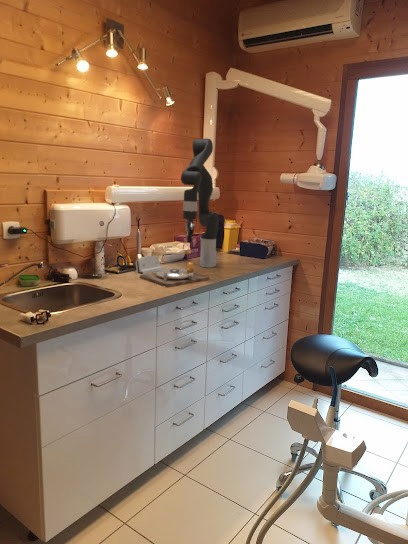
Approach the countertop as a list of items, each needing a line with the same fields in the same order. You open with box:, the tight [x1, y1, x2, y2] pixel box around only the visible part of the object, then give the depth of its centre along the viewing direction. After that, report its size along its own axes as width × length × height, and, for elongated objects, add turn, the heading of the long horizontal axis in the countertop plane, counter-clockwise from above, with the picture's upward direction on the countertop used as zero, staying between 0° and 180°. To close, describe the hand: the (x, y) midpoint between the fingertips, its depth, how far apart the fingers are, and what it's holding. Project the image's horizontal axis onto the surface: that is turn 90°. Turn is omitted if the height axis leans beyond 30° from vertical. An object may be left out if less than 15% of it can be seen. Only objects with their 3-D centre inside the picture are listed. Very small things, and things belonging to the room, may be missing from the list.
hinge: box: [135, 255, 164, 275], centre depth 240 cm, size 17×5×10 cm, turn 142°
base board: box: [139, 272, 210, 288], centre depth 224 cm, size 28×24×6 cm
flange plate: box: [155, 261, 194, 279], centre depth 223 cm, size 20×22×6 cm
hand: (189, 242), depth 227 cm, fingers closed
